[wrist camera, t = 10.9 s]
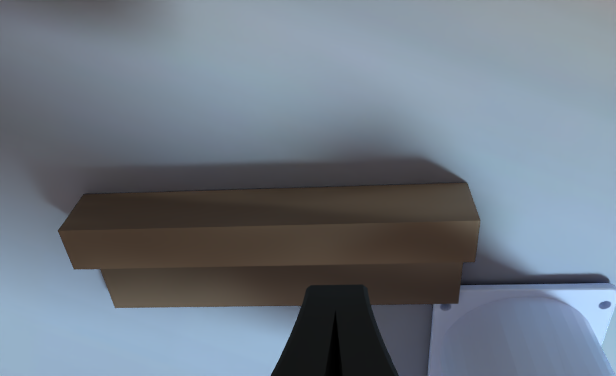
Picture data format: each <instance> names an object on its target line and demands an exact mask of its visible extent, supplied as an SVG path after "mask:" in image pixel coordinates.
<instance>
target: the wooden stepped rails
mask: <svg viewBox="0 0 616 376" xmlns="http://www.w3.org/2000/svg"><path fill="white" fill-rule="evenodd" d="M479 228H480V218H479V215H478V212H477V209H476V206H475V204H474V201H473V198H472V195H471V192H470V189H469V187H468V184H467V183H441V184H408V185H375V186H342V187H309V188H276V189H243V190H210V191H177V192H143V193H110V194H84V195H83V196H82V197H81V199H80V200H79V202H78V203H77V204H76V206H75V207H74V209H73V210H72V212H71V213H70V214H69V216H68V217H67V219H66V220H65V222H64V223H63V224H62V226H61V227H60V229H59V230H58V232H59V235H60V237H61V239H62V242H63V244H64V247H65V249H66V251H67V254H68V256H69V259H70V261H71V263H72V266H73V268H74V269H100V270H101V272H102V275H103V278H104V280H105V283H106V285H107V288H108V291H109V293H110V296H111V299H112V301H113V304H114V306H115V308H144V307H228V306H302V303H303V299H304V296H305V292H306V289H307V288H308V287H309V286H310V285H360V284H363V285H364V286H365V287H367V288H368V295H369V300H370V304H371V305H396V304H458V302H459V293H460V285H461V276H462V268H463V262H475V258H476V250H477V243H478V235H479Z"/></svg>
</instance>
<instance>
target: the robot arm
mask: <svg viewBox="0 0 616 376" xmlns="http://www.w3.org/2000/svg"><path fill="white" fill-rule="evenodd" d="M603 301H604V302H603ZM601 302H602V303H601ZM615 305H616V287H615V286H614V285H613V284H609V283H587V284H519V285H460V293H459V302H458V304H445V305H443V304H433V314H432V326H431V339H430V351H429V363H428V376H616V375H615V373H614V371H613V369H612V367H611V365H610V363H609V361H608V359H607V357H606V355H605V353H604V351H603V349H602V347H601V346H602V343H603V340H604V337H605V334H606V332H607V329H608V326H609V323H610V320H611V317H612V314H613V311H614V308H615ZM271 376H399V375H398V373H397V371H396V369H395V367H394V365H393V363H392V360H391V358H390V356H389V353H388V351H387V349H386V347H385V344H384V342H383V340H382V337H381V334H380V332H379V329H378V326H377V323H376V321H375V318H374V315H373V311H372V308H371V304H370V300H369V295H368V288H367V287H365V286H364V285H363V284H360V285H310V286H309V287H308V288H307V289H306V292H305V296H304V299H303V303H302V306H301V309H300V312H299V315H298V317H297V320H296V322H295V325H294V327H293V330H292V332H291V335H290V337H289V339H288V341H287V343H286V346H285V348H284V350H283V352H282V354H281V357H280V359H279V361H278V363H277V365H276V366H275V368H274V370H273V372H272V374H271Z"/></svg>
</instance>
